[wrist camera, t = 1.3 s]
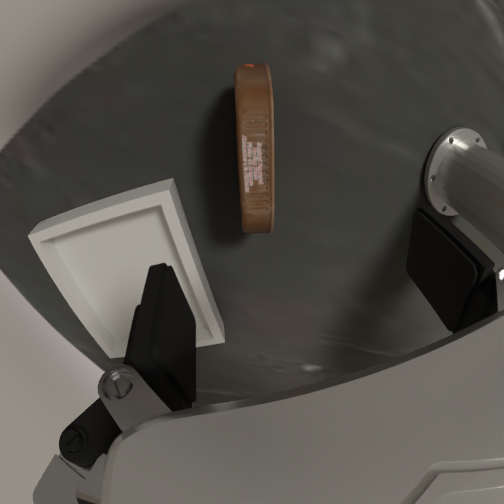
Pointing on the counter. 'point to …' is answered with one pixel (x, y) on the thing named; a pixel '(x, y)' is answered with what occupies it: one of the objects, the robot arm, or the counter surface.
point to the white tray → (125, 261)
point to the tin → (255, 146)
